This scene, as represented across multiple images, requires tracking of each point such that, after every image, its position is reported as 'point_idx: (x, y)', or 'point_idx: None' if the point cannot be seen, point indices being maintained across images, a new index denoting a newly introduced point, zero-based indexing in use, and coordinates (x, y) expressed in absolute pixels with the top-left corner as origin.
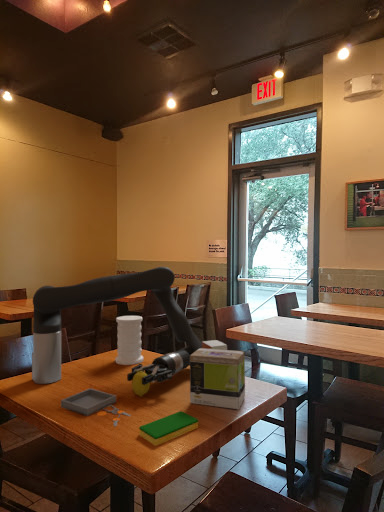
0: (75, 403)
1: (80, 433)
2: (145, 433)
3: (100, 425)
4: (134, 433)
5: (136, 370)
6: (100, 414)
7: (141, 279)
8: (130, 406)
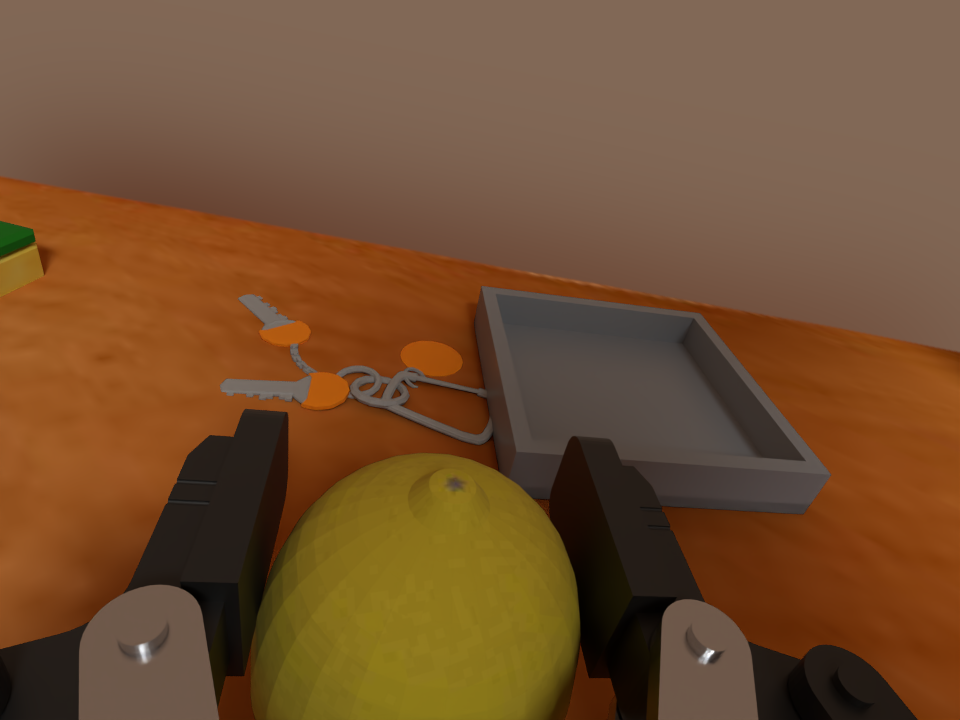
0: (665, 369)
1: (360, 244)
2: None
3: (329, 288)
4: (83, 275)
5: (672, 618)
6: (427, 347)
7: None
8: (325, 487)
